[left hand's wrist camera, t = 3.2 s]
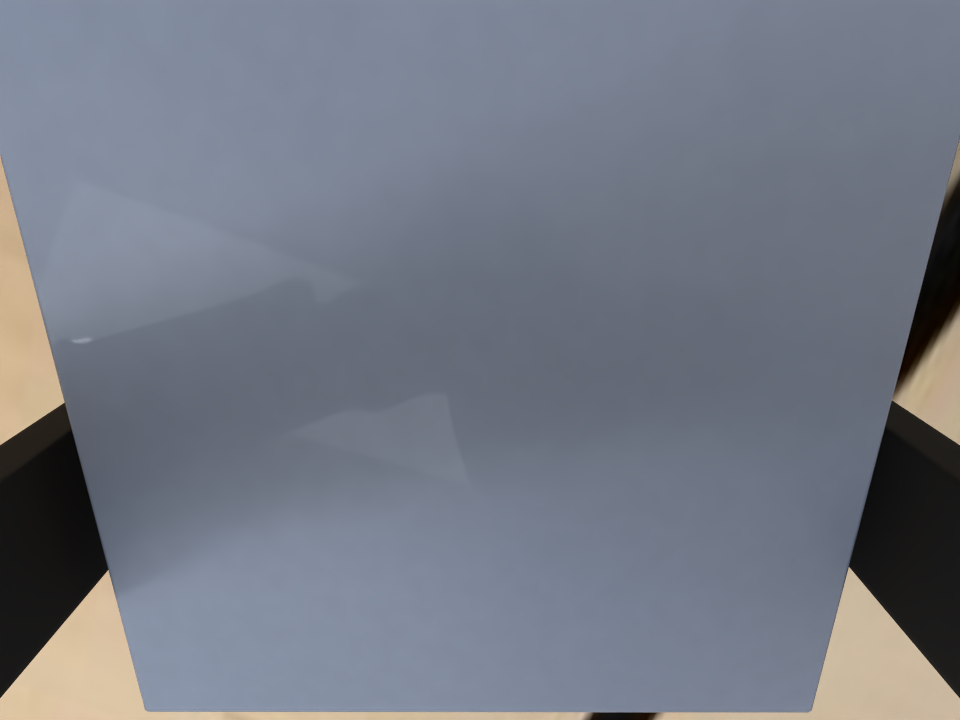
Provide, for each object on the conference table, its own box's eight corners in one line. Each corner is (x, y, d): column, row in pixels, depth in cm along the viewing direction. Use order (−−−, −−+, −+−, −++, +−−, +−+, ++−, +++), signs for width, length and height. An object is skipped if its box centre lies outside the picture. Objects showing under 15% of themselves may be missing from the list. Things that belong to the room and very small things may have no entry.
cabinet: (207, -400, 12) (-523, -1822, 3) (751, -401, 12) (1472, -1828, 3) (302, 440, 19) (144, 713, 10) (656, 440, 19) (811, 714, 10)
